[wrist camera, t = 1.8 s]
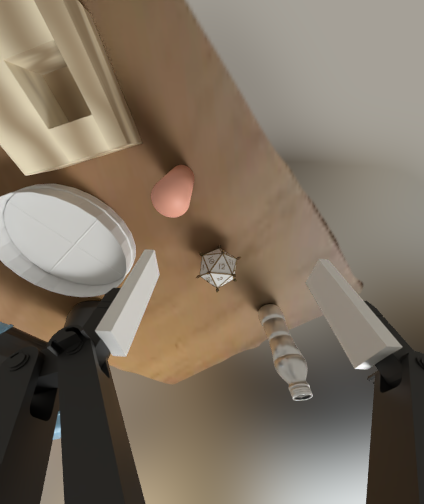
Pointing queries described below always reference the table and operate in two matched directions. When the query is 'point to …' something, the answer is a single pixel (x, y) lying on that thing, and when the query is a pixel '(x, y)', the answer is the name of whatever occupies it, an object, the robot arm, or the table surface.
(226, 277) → the game die
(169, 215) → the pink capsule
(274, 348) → the plastic bottle
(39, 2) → the birch block
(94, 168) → the table surface
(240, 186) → the table surface
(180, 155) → the table surface
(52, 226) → the dish
